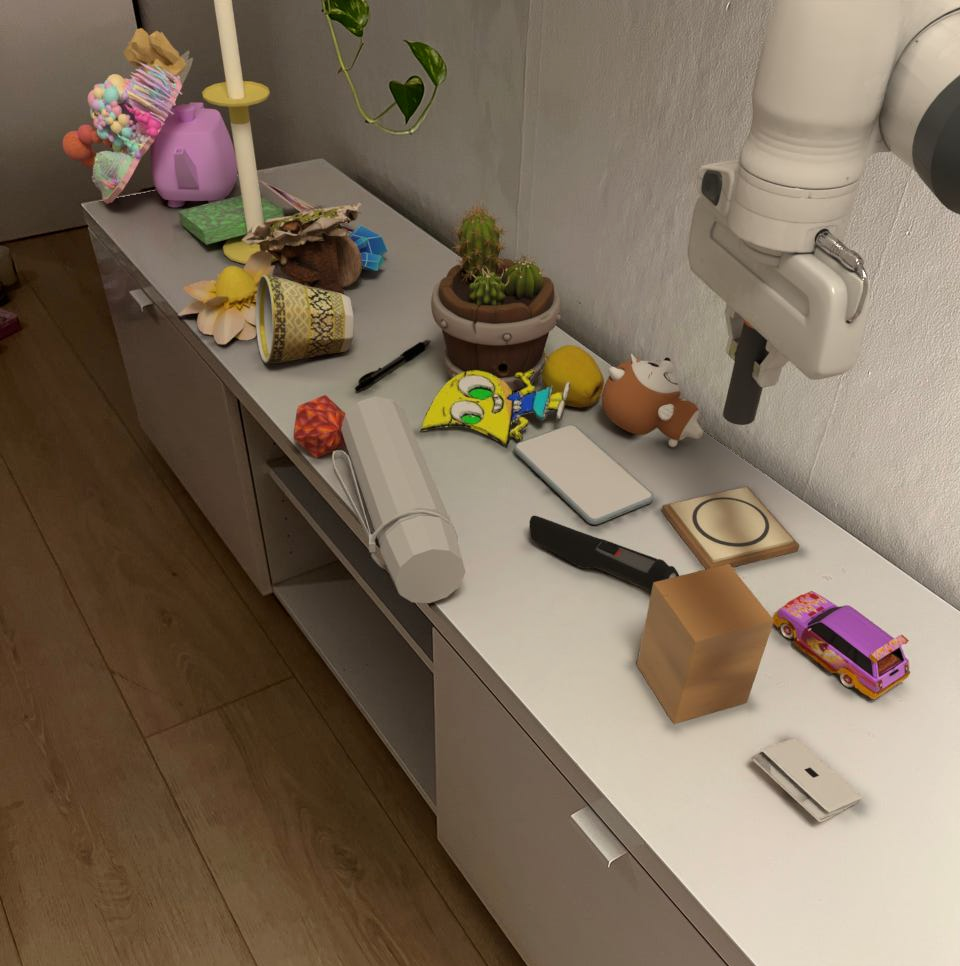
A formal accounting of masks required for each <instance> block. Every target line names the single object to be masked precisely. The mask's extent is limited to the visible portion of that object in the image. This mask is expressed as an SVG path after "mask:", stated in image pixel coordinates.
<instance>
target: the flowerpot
mask: <svg viewBox="0 0 960 966" xmlns="http://www.w3.org/2000/svg"><path fill="white" fill-rule="evenodd" d="M474 199H475V203H476V206H475V205H474V203H472V202H471V201H469V203H470V204H471V205H472V207H473V208H470V207H465V209H466V210H465V209H463V211H462V213H463V215H457V214H456V216H457V217H458V218H459V219H458V220H456V222H460V227H458V226H453V225H452V226H451V227H452V229H453V230H454V231H452V230H450V232H451V233H453V237H452V240H454V239H457V240H456V242H453V243H452V244H453V245H454V246H452V250H454V251H453V253H452V254H454V253H457V254H458V255H456V257H457V259H456V261H458V262H459V263H457V264H455V265H454V266H452V267H451V268H450V269H449V270H448V271H447V274H446V276H444V277H443V278H442V279H440V280H439V281H438V282H437V283H436V284H435V286H434V288H433V290H432V293H431V294H432V295H431V300H430V306H431V307H430V309H431V315H432V317H433V319H434V322H435V323H436V325H437V326H438V327H439V328H440V329H441V332H442V336H443V340H444V343H445V346H444V348H443V355H442V356H443V361H444V364H445V368H446V371H447V373H448V375H449V377H450V378H451V379H452V378H453V377H455V376H456V375H458V374H460V373H463V372H467V371H470V370H479V371H484V372H488V373H491V374H492V375H494V376H496V377H498V378H499V379H501V380H503V381H504V382H506V383H507V384H508V385H509V387H510V388H511V389H512V390H513V392H514V393H517V392H518V391H520V390H522V389H524V388H526V387H525V386H524V385H523V384H522V383H521V380H520V379H518V378H514V376H515V374H516V373H518V374H519V372H520V373H525V372H527V371H529V370H533V371H535V373H534V375H533V377H532V378H531V379H529V381H530V382H531V384H532V385H533V384H534V383H535V382H536V381H537V380H538V379H539V377H540V376H541V375H542V372H543V368H544V365H545V362H546V357H545V356H544V355H543V353H542V352H544V353H545V354H546V352H545V347H546V344H547V341H548V338H549V334H550V332H551V331H552V330H553V329H554V328H555V327H556V326H557V324H558V322H559V321H560V320H561V319H562V316H561V309H562V308H561V297H560V293H559V291H558V289H557V287H556V286H555V285H554V282H553V281H552V279H551V278H550V277H548V276H543V274H542V273H543V271H544V269H545V267H544V265H542V267H543V268H542V270H541V268H540V267H539V265H537V262H536V259H535V258H537V257H535V256H534V260H533V261H531V260H530V259H531V258H533V256H531V257H529V254H527V255H524V254H523V253H522V252H521V251H520V250H518V252H520V255H521V256H520V259H518V257H515V260H512V259H509V258H503V255H504V252H505V254H507V252H506V247H504V246H505V245H506V244H505V243H506V241H504V242H503V238H502V236H504V238H505V239H507V238H506V236H505V235H506V234H505V233H508V231H506V230H504V224H503V223H502V226H500V224H498V225H496V224H497V222H499V223H501V221H500V219H501V217H500V215H498V216H496V217H495V213H494V211H493V212H492V215H488V214H489V210H490V208H488V206H485V205H484V204H483V200H484V199H483V198H482V200H480V203H478V201H477V198H476V197H474ZM478 204H479V205H478ZM481 206H482V208H481ZM484 206H485V207H484ZM502 251H503V252H502ZM458 256H460V257H458ZM499 256H500V257H499ZM516 259H517V260H516ZM521 260H522V261H521ZM467 375H469V374H467ZM470 375H471V374H470ZM516 375H517V374H516ZM480 376H481V375H480ZM494 376H493V377H494ZM524 376H525V375H524ZM523 381H524V380H523ZM456 383H457V382H456ZM489 383H490V382H489ZM475 385H476V384H475ZM499 385H500V384H499ZM528 385H529V384H528ZM495 387H496V386H495ZM468 388H469V387H468ZM485 391H486V390H485ZM501 391H502V390H501ZM494 393H495V392H494ZM501 394H502V393H501ZM514 395H515V394H514ZM503 397H504V396H503Z"/></svg>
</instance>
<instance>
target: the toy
mask: <svg viewBox="0 0 960 966" xmlns="http://www.w3.org/2000/svg"><path fill="white" fill-rule="evenodd" d="M534 373H535V371H533V370H529V371H527V372H525V373H520V372H519V374H518V373H516V374H517V375H516V374H515V376H514V378H518V379H520V380H521V383H522V384H523V385H524V386H525V387H526V388H524V389H522V390H520V391H518V392H517V393H514V392H513V390H512V389H511V388H510V387H509V385H508V384H507V383H506V382H504V381H503V380H501V379H499V378H498V377H496V376H494V375H492V374H491V373H488V372H484V371H479V370H470V371H467V372H463V373H460V374H458V375H456V376H455V377H453V378H451V379H449V380H448V381H447V382H446V383H445V384H444V385H443V386H442V387H441V388H440V390H439V391H438V393H437V394H435V396H434V398H433V400H432V401H431V403H430V405H429V407H428V409H427V412H426V413H425V417H424V418H423V421H422V424H421V428H420V432H424V431H429V430H435V429H440V428H449V427H460V428H466V429H471V430H474V431H477V432H479V433H482V434H484V435H485V436H488V437H490V438H491V439H494V440H495V441H497V442H498V443H500V444H501V445H503V446H504V448H506V449H508V447H509V443H510V438H511V437H513V438H514V439H515V441H517V442H521V441H524V437H523V435H522V434H521V433H522V432H523V431H524V430H526V428H527V427H528V426H529V425H530V421H529V420H528V419H527V418H526V417H524V416H522V415H526V414H531V413H533V415H534V416H535V417H536V418H537V419H539V420H540V421H544V420H545V419H546V418H547V414H548V412H556V413H555V419H556V421H557V422H561V421H562V419H563V415H564V412H565V407H566V405H565V403H566V400H567V395H568V392H566V391H568V389H569V388H570V385H571V384H570V382H567V384H566V385H565V387H564V389H563V391H562V393H560V392H559V393H555V394H552V393H553V386H552V385H551V386H550V387H548V388H546V389H547V390H546V389H545V388H543V389H541V390H539V392H538V391H537V388H536V386H535V385H533V383H532V384H531V382H530V381H529V379H531V378H532V377H533V375H534ZM467 374H469V375H467ZM470 374H471V375H470ZM480 375H481V376H480ZM524 375H525V376H524ZM493 376H494V377H493ZM523 380H524V381H523ZM456 382H457V383H456ZM489 382H490V383H489ZM475 384H476V385H475ZM499 384H500V385H499ZM528 384H529V385H528ZM495 386H496V387H495ZM468 387H469V388H468ZM485 390H486V391H485ZM501 390H502V391H501ZM494 392H495V393H494ZM501 393H502V394H501ZM514 394H515V395H514ZM503 396H504V397H503ZM559 398H560V399H559ZM512 423H515V424H518V425H516V426H515V427H514V428H513V429H512V425H513V424H512Z"/></svg>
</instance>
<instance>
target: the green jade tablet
mask: <svg viewBox="0 0 960 966" xmlns="http://www.w3.org/2000/svg"><path fill="white" fill-rule="evenodd" d="M260 197H261V204H262V212H263V219H264V222H265V221H266V220H267V219H273V218H280V217H285V213H284V209H283V208H281V207H279V205H277V204H275V203H273V202H272V201H270V200H269V199H268V198H265V196H264V197H263V196H262V195H261V194H260ZM177 214H178V216H179V220H180V221H179V222H180V224H181V226H182V227H184V228H185V229H186V230H187V231H188V232H190V233H191V234H192V235H194V237H196V238H197V239H198V240H200V241H201V242H202V243H204V244H205V245H211V244H215V243H219V242H221V241H225V240H226V241H227V240H229V239H230V238H233V237H237V236H241V235H244V234H247V227H246V220H245V214H244V207H243V200H242V194H240V195H236V196H233V197H228V198H224V200H220V201H216V202H212V203H209V202H207V203H204V204H201V205H197V206H193V207H189V208H184V209H181V210H178V211H177Z"/></svg>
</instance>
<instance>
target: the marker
mask: <svg viewBox="0 0 960 966" xmlns="http://www.w3.org/2000/svg"><path fill="white" fill-rule="evenodd" d="M766 344H767V340H766V339H765V338H764V337H763V336H762V335H761V334H760V333H759V332H757V331H756V330H755V329H754V328H753V327H752V326H751V325H750V324H749V323H748V322H747V321H745V320H744V323H743V328H742V332H741V336H740V341H739V345H738V350H737V354H736V358H735V361H734V362H733V367H732V372H731V376H730V381H729V385H728V388H727V394H726V397H725V402H724V406H723V411H722V417H723V419H724V420H726V421H727V422H729V423H731V424H733V425H736V426H746V425H750V424H752V423H754V421H755V419H756V415H757V412H758V408H759V404H760V400H761V396H762V393H763V389H764V388H762V387H760V386H759V385H758V384H757V383H756V382H755V381H754V379H753V378H752V377H751V374H752V372H753V366H754V362H755V361H757V360H764V359H765V358H766V357H767V355H768V354H769V352H768V351H767V350H766Z"/></svg>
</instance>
